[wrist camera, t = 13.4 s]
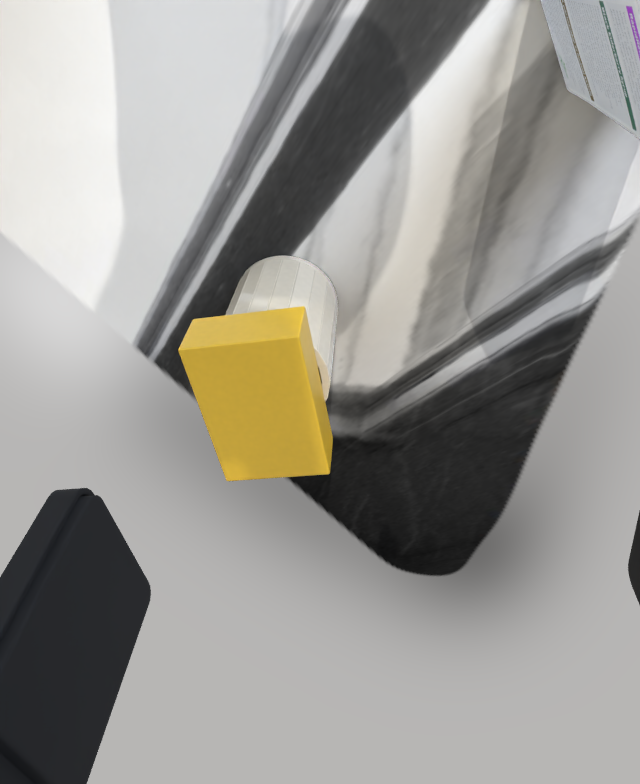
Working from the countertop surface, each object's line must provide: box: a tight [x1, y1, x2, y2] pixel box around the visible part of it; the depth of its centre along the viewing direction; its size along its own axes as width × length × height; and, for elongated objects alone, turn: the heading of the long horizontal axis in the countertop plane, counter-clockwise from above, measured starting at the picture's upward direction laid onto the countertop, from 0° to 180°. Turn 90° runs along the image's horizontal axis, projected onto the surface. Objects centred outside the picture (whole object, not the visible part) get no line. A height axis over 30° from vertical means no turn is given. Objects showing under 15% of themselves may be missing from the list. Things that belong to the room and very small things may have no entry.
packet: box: [178, 306, 333, 481], centre depth 31 cm, size 9×6×3 cm, turn 10°
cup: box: [225, 256, 338, 401], centre depth 36 cm, size 7×7×9 cm
